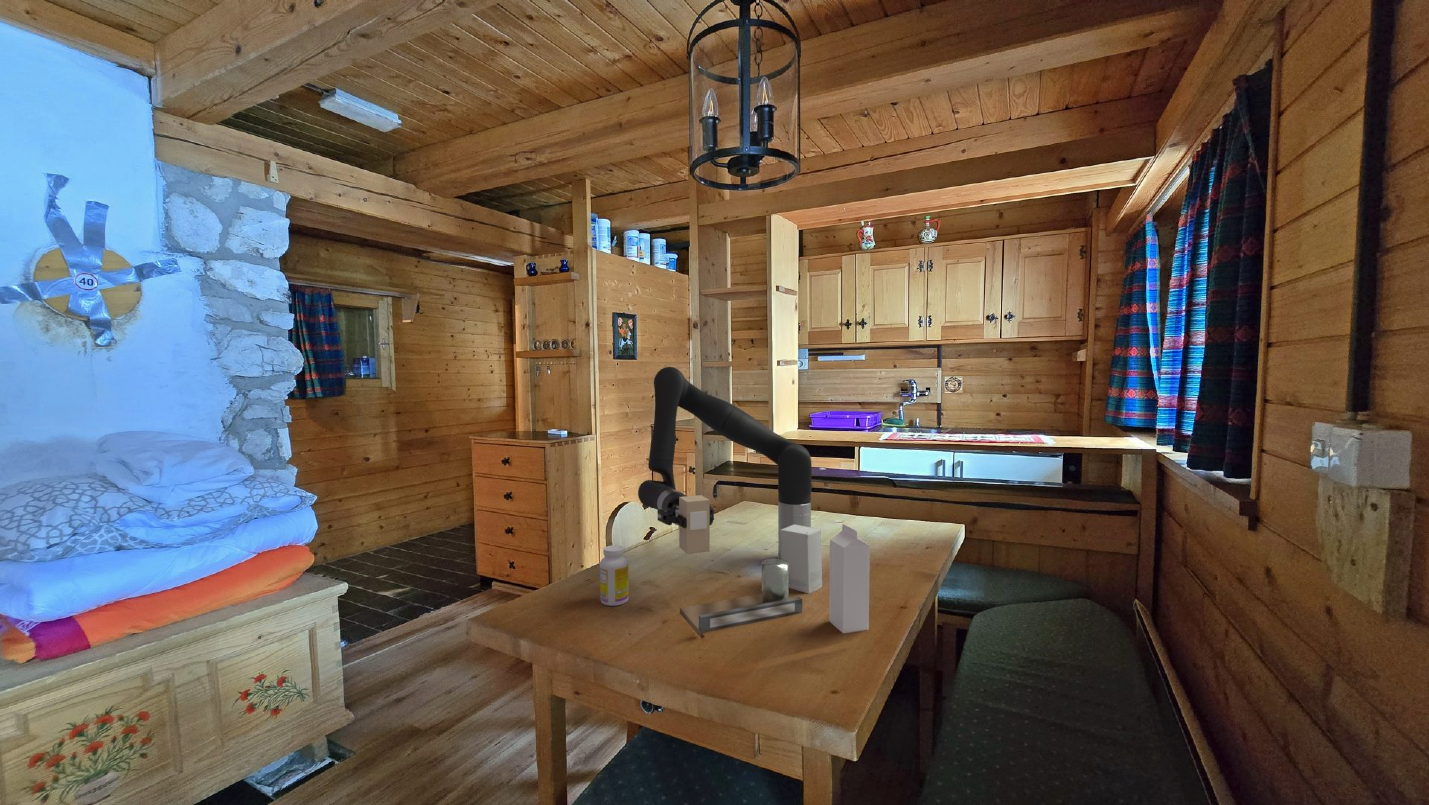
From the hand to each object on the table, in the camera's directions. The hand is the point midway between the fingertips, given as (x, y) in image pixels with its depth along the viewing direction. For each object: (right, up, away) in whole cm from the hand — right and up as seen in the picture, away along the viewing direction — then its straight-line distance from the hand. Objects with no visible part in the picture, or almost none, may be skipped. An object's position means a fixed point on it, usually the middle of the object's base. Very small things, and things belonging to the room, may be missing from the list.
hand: (698, 522), depth 130 cm
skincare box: (+25, -19, +11) cm, 34 cm away
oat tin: (+17, -19, -2) cm, 26 cm away
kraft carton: (-1, -7, +3) cm, 7 cm away
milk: (+32, -21, -11) cm, 40 cm away
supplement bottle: (-20, -20, +5) cm, 29 cm away
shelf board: (+10, -20, -3) cm, 22 cm away
